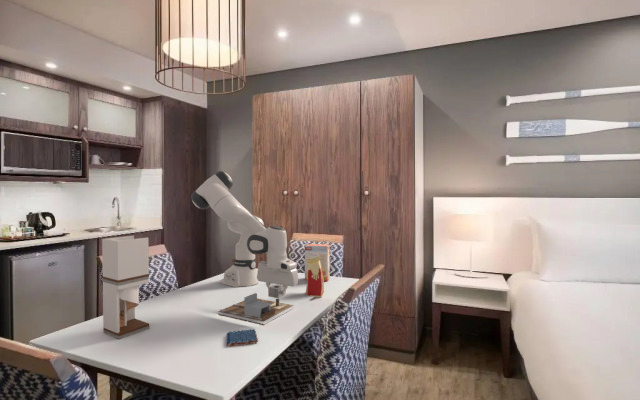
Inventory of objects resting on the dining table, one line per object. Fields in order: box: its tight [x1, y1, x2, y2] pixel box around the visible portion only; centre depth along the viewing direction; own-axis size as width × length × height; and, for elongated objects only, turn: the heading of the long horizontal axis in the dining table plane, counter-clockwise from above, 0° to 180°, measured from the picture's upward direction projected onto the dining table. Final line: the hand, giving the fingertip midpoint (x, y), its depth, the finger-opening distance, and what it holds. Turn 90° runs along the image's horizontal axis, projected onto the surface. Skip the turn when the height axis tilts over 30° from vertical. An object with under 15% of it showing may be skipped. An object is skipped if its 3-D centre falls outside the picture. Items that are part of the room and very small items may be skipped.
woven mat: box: [226, 328, 259, 347], centre depth 124 cm, size 10×11×2 cm
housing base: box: [217, 298, 294, 326], centre depth 153 cm, size 24×22×4 cm
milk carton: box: [305, 256, 325, 298], centre depth 178 cm, size 9×9×20 cm
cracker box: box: [304, 243, 331, 282], centre depth 208 cm, size 14×6×21 cm, turn 76°
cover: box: [243, 292, 270, 318], centre depth 145 cm, size 8×7×7 cm
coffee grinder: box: [101, 235, 150, 340], centre depth 131 cm, size 11×11×35 cm
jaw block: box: [267, 284, 285, 299], centre depth 156 cm, size 5×5×4 cm
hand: (276, 293), depth 156 cm, fingers closed on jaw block, 5 cm apart
